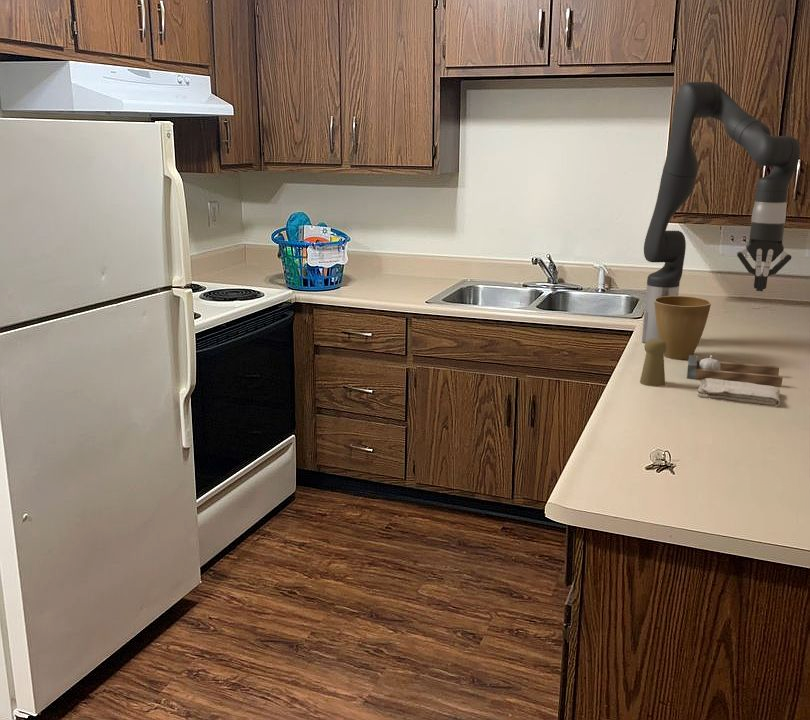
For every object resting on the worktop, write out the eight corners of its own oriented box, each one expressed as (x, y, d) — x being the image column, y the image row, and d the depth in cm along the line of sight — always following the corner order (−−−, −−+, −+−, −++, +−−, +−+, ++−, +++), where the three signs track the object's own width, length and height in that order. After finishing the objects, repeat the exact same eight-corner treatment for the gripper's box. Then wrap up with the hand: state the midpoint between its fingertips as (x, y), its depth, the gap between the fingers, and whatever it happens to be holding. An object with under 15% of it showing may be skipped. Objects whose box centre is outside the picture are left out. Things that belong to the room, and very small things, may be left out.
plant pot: (649, 348, 238) (653, 294, 234) (703, 352, 234) (708, 297, 230) (650, 361, 224) (655, 303, 220) (707, 365, 220) (713, 306, 216)
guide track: (686, 378, 207) (688, 365, 207) (687, 367, 218) (688, 354, 217) (781, 387, 200) (783, 373, 199) (777, 375, 211) (779, 362, 210)
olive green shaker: (634, 380, 205) (638, 338, 202) (654, 378, 207) (658, 336, 204) (649, 387, 200) (653, 343, 197) (670, 385, 202) (674, 341, 199)
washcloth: (700, 386, 202) (701, 374, 201) (779, 395, 195) (781, 383, 194) (696, 399, 192) (697, 387, 191) (779, 409, 185) (781, 396, 184)
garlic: (704, 371, 214) (706, 352, 213) (724, 375, 211) (726, 355, 209) (693, 375, 210) (694, 355, 209) (712, 379, 207) (714, 359, 205)
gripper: (739, 220, 198) (731, 291, 203) (799, 223, 194) (789, 295, 198) (738, 218, 205) (730, 286, 210) (796, 220, 201) (787, 290, 205)
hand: (759, 290), depth 204 cm, fingers closed
